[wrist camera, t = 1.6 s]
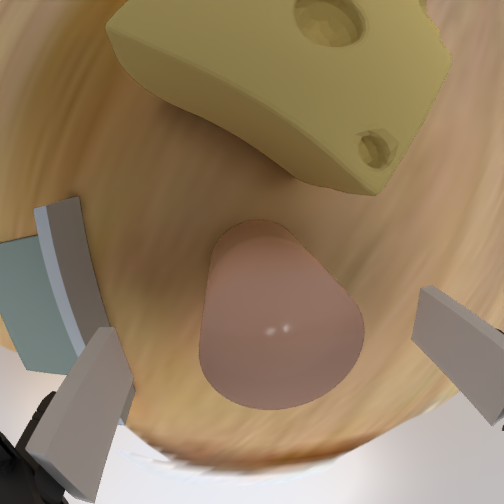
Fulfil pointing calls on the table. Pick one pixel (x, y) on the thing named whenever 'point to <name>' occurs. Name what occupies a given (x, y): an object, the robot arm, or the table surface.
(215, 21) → the cheese
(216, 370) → the pink rounded cylinder
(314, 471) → the table surface
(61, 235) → the divider wall
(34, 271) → the mat
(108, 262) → the table surface
